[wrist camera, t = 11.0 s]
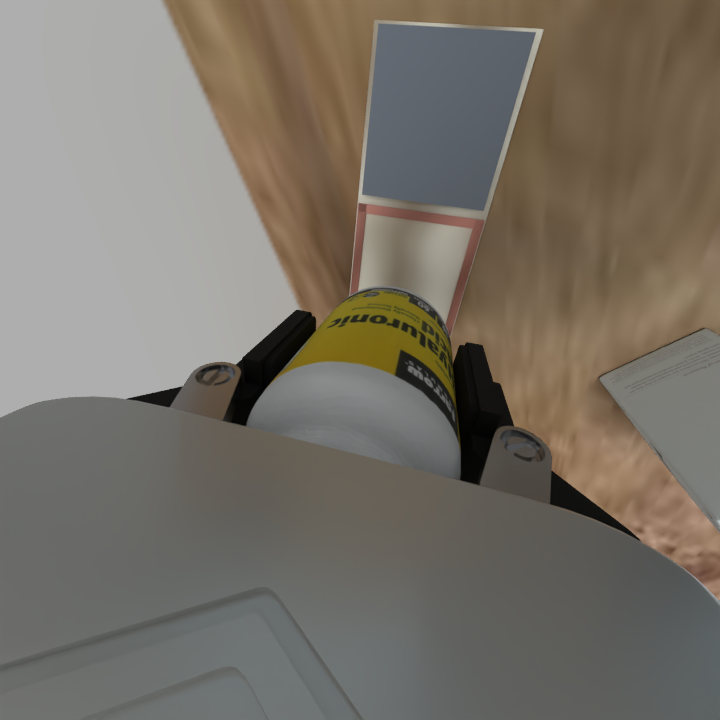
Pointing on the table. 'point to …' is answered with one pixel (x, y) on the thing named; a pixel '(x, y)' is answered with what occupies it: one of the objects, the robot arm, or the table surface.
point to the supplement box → (678, 412)
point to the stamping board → (423, 224)
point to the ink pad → (441, 111)
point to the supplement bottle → (372, 384)
